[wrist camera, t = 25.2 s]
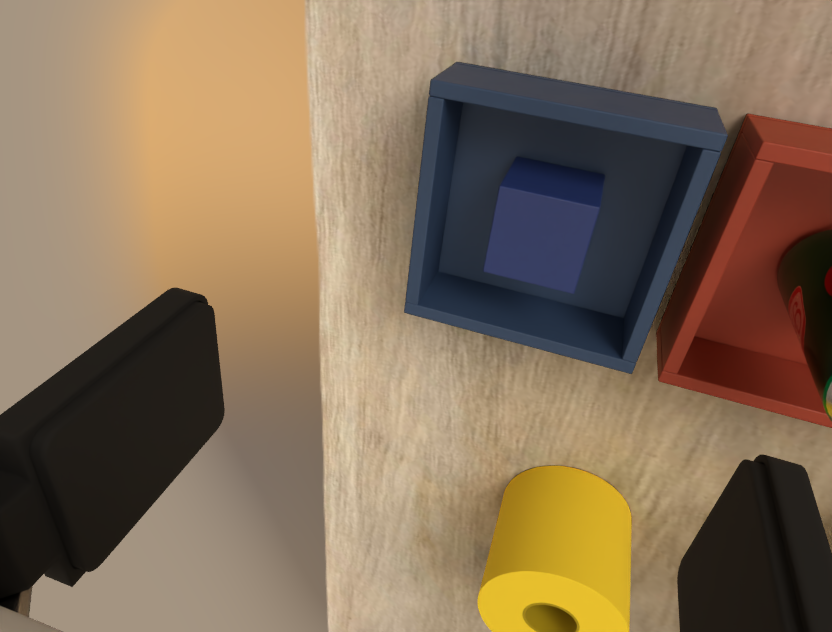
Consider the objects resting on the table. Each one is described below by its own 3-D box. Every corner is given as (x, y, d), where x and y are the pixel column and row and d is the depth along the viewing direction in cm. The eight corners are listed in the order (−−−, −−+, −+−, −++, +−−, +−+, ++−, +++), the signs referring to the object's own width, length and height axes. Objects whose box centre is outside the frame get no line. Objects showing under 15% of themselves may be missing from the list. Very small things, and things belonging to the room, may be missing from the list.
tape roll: (486, 521, 51) (459, 622, 44) (529, 446, 45) (506, 549, 38) (597, 571, 50) (589, 684, 43) (655, 501, 44) (658, 618, 37)
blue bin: (456, 61, 32) (430, 79, 28) (717, 107, 30) (728, 134, 26) (427, 275, 40) (403, 313, 36) (633, 327, 37) (631, 374, 33)
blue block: (516, 155, 34) (499, 185, 30) (605, 174, 33) (600, 207, 29) (500, 235, 36) (482, 272, 32) (581, 254, 35) (574, 294, 31)
